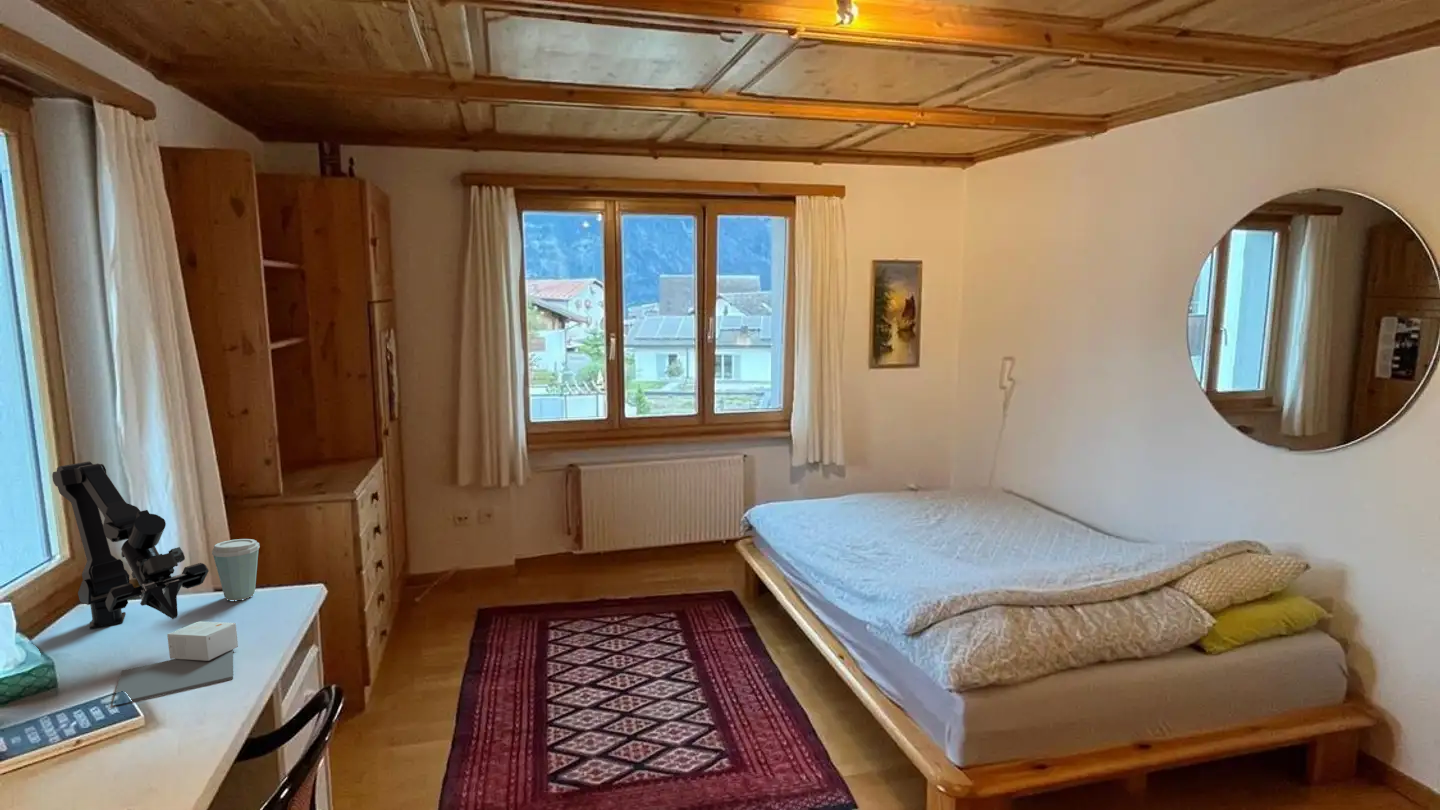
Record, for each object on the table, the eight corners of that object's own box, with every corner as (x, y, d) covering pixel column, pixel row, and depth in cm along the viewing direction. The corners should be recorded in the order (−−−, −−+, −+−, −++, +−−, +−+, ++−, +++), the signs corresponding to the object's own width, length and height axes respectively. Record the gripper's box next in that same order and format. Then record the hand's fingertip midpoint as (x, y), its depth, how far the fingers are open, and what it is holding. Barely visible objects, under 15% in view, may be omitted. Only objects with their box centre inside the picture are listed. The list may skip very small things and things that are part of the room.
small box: (168, 658, 175) (207, 661, 172) (166, 633, 174) (205, 636, 171) (201, 644, 182) (239, 647, 180) (198, 620, 182) (236, 622, 179)
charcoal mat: (122, 672, 170) (121, 670, 170) (232, 649, 180) (232, 646, 180) (112, 706, 156) (112, 703, 156) (233, 678, 166) (232, 676, 166)
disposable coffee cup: (229, 590, 215) (223, 536, 213) (272, 588, 216) (266, 534, 214) (209, 606, 204) (202, 549, 202) (254, 603, 206) (247, 547, 203)
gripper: (103, 552, 169) (135, 613, 164) (199, 528, 184) (230, 583, 180) (92, 581, 174) (122, 641, 170) (186, 555, 189) (216, 609, 185)
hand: (175, 617), depth 176 cm, fingers closed
